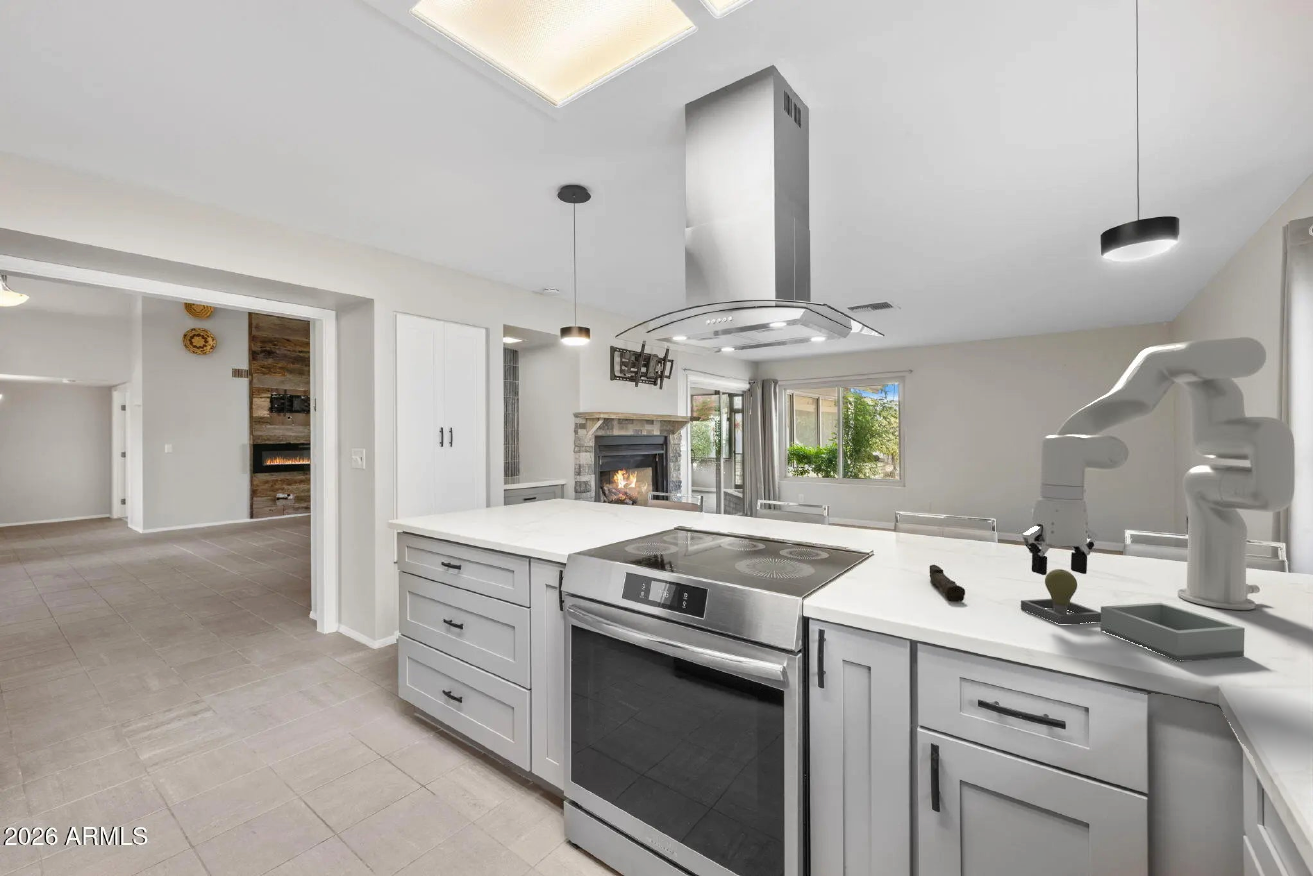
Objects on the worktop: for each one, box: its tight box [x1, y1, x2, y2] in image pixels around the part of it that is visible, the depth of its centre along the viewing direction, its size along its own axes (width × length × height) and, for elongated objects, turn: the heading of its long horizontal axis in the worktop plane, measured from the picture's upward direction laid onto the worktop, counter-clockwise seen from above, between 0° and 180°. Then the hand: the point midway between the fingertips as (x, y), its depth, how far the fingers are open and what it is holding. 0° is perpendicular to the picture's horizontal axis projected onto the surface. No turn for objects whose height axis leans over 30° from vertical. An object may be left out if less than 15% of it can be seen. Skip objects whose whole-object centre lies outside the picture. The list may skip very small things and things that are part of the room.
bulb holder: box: [1020, 598, 1101, 625], centre depth 118 cm, size 10×10×2 cm
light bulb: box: [1044, 568, 1078, 614], centre depth 118 cm, size 6×6×10 cm
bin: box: [1100, 602, 1245, 662], centre depth 103 cm, size 14×14×5 cm
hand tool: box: [929, 564, 966, 603], centre depth 136 cm, size 19×4×5 cm, turn 167°
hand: (1058, 572), depth 117 cm, fingers open, 9 cm apart
